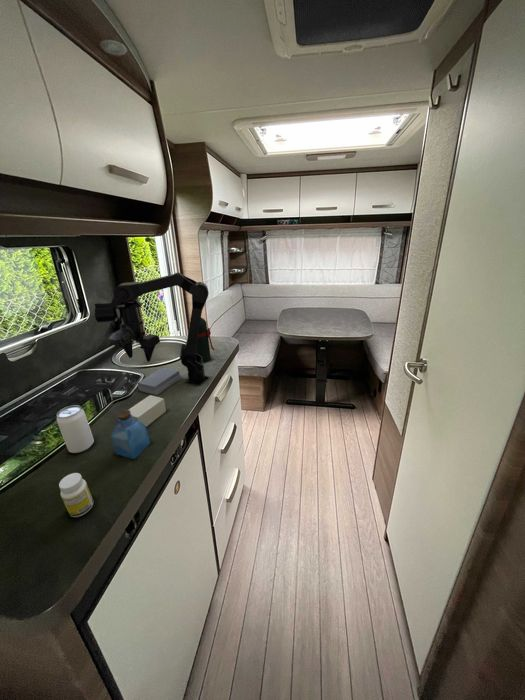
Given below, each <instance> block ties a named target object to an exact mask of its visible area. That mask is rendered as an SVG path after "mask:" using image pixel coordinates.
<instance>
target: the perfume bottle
mask: <svg viewBox="0 0 525 700" xmlns="http://www.w3.org/2000/svg"><path fill="white" fill-rule="evenodd" d="M117 421H118V424H116V426H114V428H113V430H112V433H111V435H110V439H111V442H112V445H113V449H114V451H115V455H118V456H121V457H125V458H129V459H133V460H135V459H136V458H138V457H139V455H140V454H141V453H142V452H143V451H144V450H145V449H146V448H147V447H148V446H149V445H151V442H150V439H149V433H148V430H147V427H146V426H145V425H143V424H142V423H141V422H139V421H138V420H133V417H132V414H130V410H129V409H124V410H121V411H119V412H118V413H117Z"/></svg>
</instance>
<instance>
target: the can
mask: <svg viewBox="0 0 525 700" xmlns="http://www.w3.org/2000/svg"><path fill="white" fill-rule="evenodd" d="M56 424H57V426H58V429H59V431H60V434H61V436H62V439H63V441H64V445H65V446H66V449H67V451H68V452H69V453H72V454H79V453H82V452H86V451H87V450H88V449H90V448H91V447H92V445H93V444H94V442H95V439H94V436H93V432H92V430H91V427H90V424H89V421H88V418H87V415H86V412H85V410H84V409H83V408H82V407H81V405H78V404H74V405H69V406H68V405H67V406H65V407H63V408H61V409H60V410H59V411H57V413H56Z"/></svg>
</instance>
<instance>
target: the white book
mask: <svg viewBox="0 0 525 700" xmlns="http://www.w3.org/2000/svg"><path fill="white" fill-rule="evenodd" d="M164 404H165V405H166V402H165V399H164V398H162V397H159V396H157V395H153V394H149V395H148V396H146V397H145V398H143V399H142V400H140V401H139V402H138V403H136V404H134V405H133V406H132V407H130V408H129V409H128V410H130V414H132V417H133V420H138V421H139V422H141V421H142V420H144V419H145V418H146V417H148V416H149V415H150V414H152V413H153V412H154V411H156V410H157V409H158V408H160V407H161V406H162V405H164Z"/></svg>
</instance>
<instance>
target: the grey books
mask: <svg viewBox="0 0 525 700" xmlns="http://www.w3.org/2000/svg"><path fill="white" fill-rule="evenodd" d="M181 379H182V374H180V370H176V369H172V368H167V367H162V368H159V369H157V370H156V371H154V372H152V373H150V374H149V375H147V376H146V377H145V378H143V379H141V380H139V381H137V388H138V391H139V392H143V393H145V394H146V393H147V394H149V395H153V396H158V395H159V394H161V393H162V392H164V391H165V390H166V389H168V388H169V387H171V386H172V385H174V384H175V383H176V382H178V381H179V380H181Z"/></svg>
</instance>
